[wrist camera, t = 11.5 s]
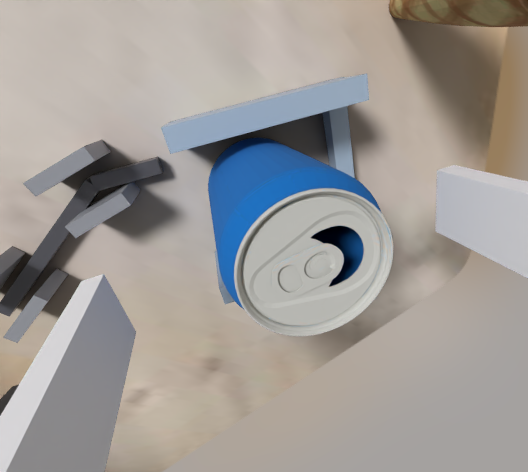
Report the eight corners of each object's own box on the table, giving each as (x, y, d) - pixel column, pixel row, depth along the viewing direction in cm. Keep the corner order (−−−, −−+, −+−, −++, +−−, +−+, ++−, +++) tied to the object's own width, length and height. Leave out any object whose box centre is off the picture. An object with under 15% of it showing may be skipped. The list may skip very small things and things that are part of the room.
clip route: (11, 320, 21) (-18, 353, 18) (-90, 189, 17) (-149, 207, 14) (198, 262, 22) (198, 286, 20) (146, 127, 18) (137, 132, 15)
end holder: (219, 264, 23) (225, 304, 18) (169, 121, 18) (161, 127, 14) (352, 223, 24) (388, 251, 19) (335, 78, 19) (378, 70, 15)
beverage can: (311, 206, 22) (417, 300, 12) (231, 242, 22) (265, 371, 12) (281, 120, 20) (385, 138, 9) (190, 161, 20) (183, 231, 9)
